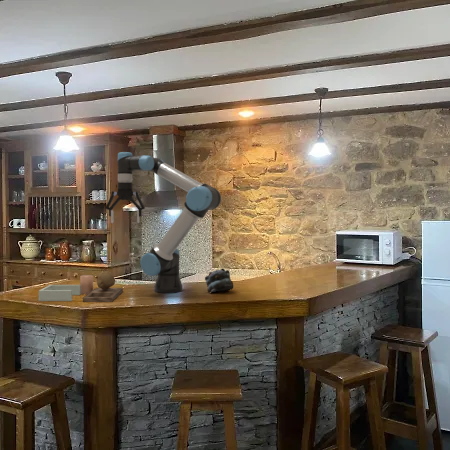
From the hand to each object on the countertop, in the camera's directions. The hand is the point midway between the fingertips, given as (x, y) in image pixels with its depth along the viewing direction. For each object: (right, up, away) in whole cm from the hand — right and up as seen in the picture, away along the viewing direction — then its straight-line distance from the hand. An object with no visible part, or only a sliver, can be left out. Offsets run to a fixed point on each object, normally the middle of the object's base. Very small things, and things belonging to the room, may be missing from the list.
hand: (125, 222), depth 250 cm
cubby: (-29, -37, -13) cm, 49 cm away
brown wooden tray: (-9, -37, -9) cm, 39 cm away
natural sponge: (-9, -35, -3) cm, 36 cm away
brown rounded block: (-20, -37, 0) cm, 42 cm away
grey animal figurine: (+49, -37, +4) cm, 61 cm away
